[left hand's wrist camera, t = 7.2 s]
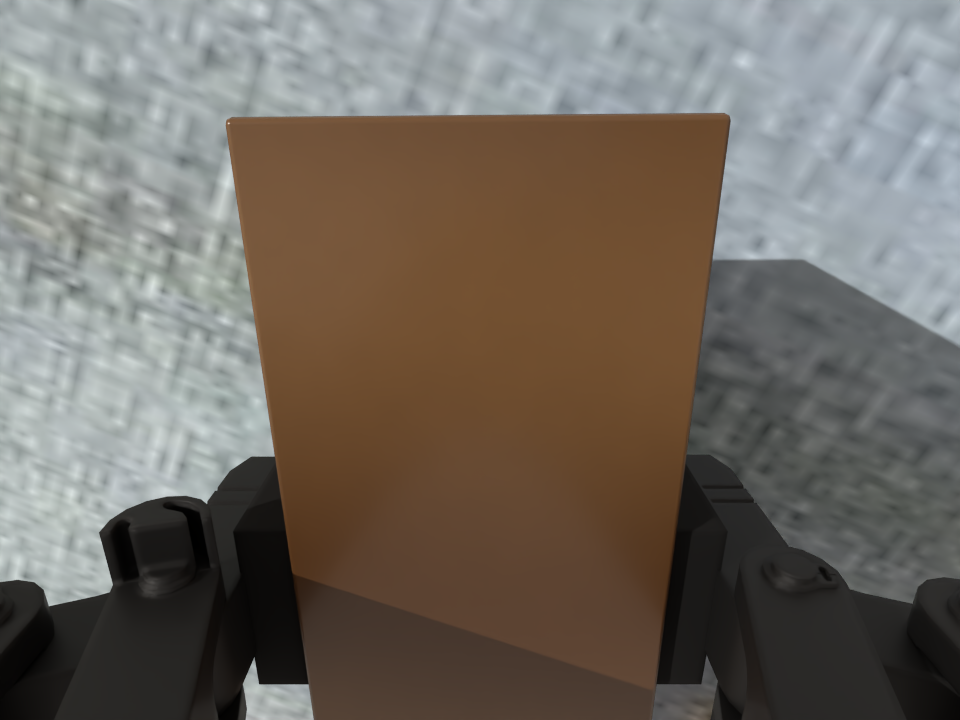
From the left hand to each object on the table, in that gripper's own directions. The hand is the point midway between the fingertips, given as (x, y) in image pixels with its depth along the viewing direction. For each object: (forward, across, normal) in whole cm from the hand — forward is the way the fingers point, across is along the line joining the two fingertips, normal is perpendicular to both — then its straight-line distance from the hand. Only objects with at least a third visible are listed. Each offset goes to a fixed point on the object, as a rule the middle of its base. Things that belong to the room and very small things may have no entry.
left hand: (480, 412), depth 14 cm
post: (+1, 0, -28) cm, 28 cm away
